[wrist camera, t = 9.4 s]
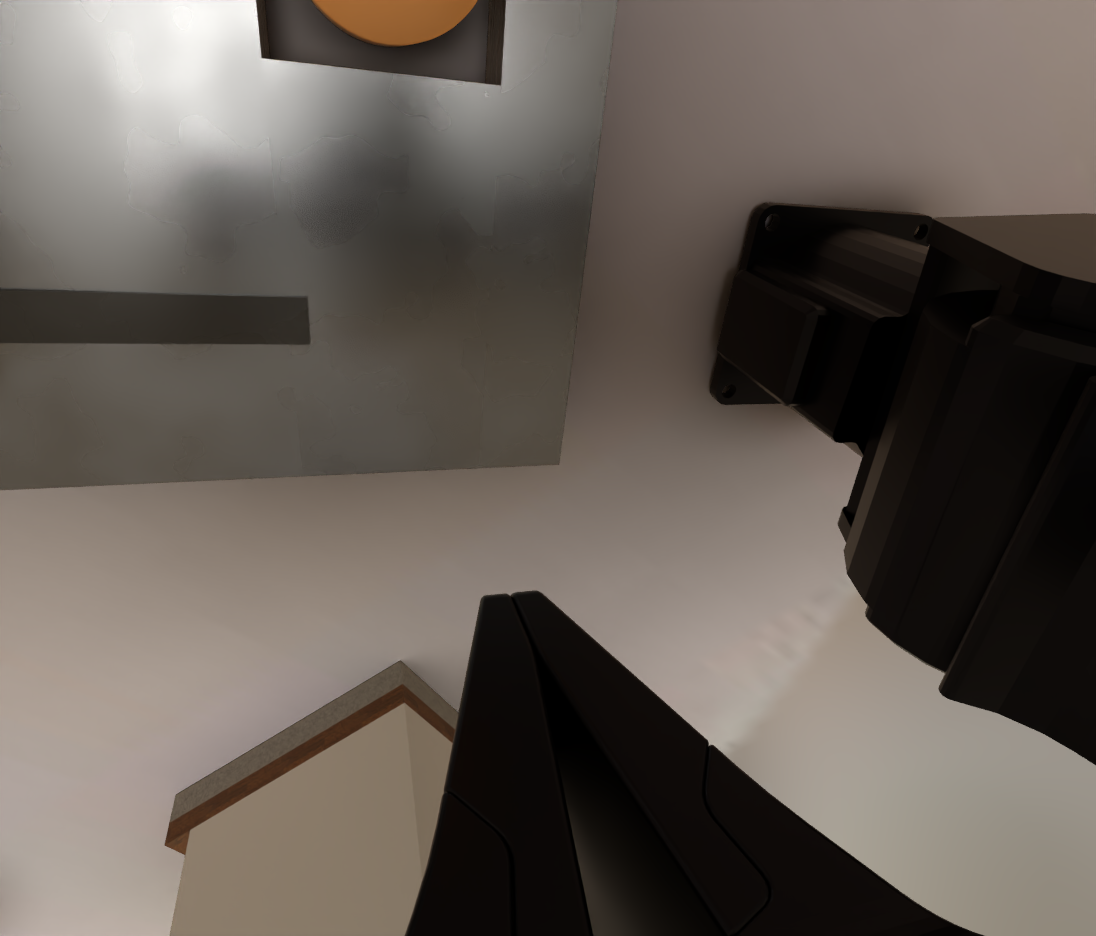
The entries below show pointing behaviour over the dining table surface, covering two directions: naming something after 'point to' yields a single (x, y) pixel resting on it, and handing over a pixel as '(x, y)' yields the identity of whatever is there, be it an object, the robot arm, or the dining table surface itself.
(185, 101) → the plate
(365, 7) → the orange push button
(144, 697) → the dining table surface
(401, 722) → the beige tower stand
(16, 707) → the dining table surface
